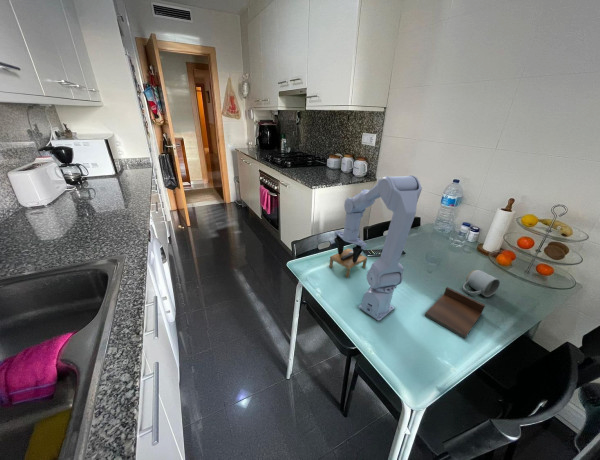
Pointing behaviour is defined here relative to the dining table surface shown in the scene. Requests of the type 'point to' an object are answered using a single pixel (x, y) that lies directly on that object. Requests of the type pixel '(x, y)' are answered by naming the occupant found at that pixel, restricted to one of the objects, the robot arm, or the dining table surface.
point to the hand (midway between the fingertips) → (347, 257)
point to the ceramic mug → (481, 283)
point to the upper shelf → (347, 261)
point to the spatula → (348, 256)
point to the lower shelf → (456, 312)
